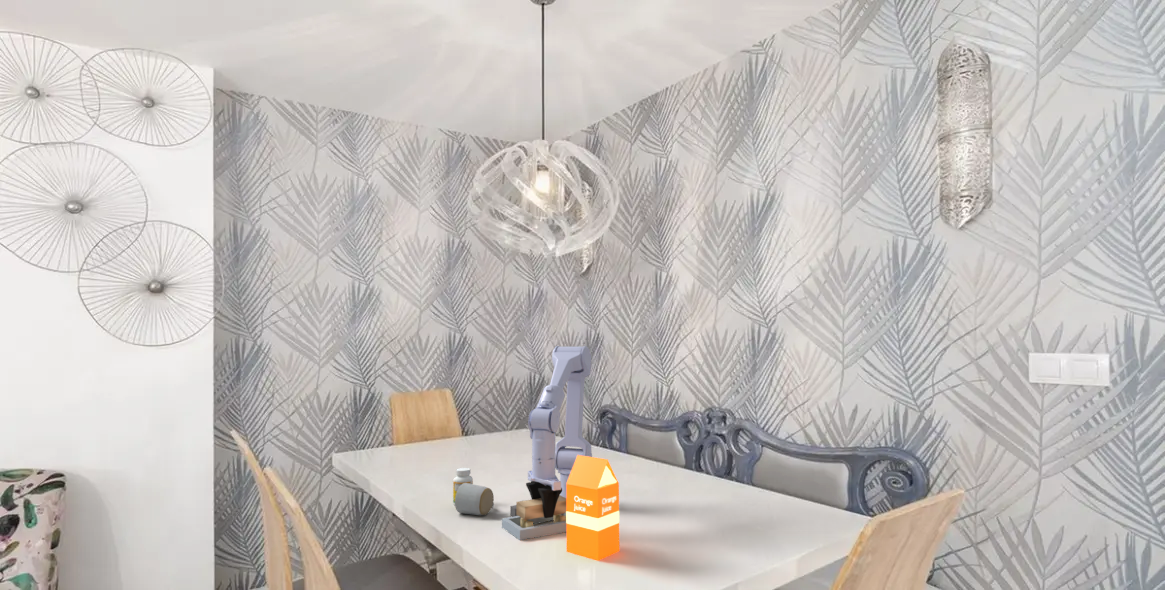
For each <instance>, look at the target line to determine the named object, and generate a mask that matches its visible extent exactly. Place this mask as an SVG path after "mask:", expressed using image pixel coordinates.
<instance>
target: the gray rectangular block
mask: <svg viewBox="0 0 1165 590" xmlns="http://www.w3.org/2000/svg"><path fill="white" fill-rule="evenodd" d="M509 512H510V513H509V514H510V515H511V516H512V517H514V516H518V515H516V505H510V511H509ZM511 516H510V517H511Z"/></svg>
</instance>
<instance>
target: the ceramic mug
mask: <svg viewBox="0 0 1165 590" xmlns="http://www.w3.org/2000/svg"><path fill="white" fill-rule="evenodd" d="M494 499H495V498H494V493H493V490H492V489H491V488H489V487H487V486H483V485H477V484H474V483H473V484H469V483H463V484H462V485H461V486H460V487H459V488H458V490H457V493H456V497H455V505H454V506H455V510H456V511H457V513H458V514H463V515H464V514H465V515H474V516H486V515H488V513H490V511H491V510H492V509H493V508H494V505H495V504H494V503H495V502H494Z"/></svg>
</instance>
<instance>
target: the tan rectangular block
mask: <svg viewBox="0 0 1165 590" xmlns="http://www.w3.org/2000/svg"><path fill="white" fill-rule="evenodd" d="M563 513H566V498H565V497H563V496H559V498H558V500H557V503H556V507H555V511H554V515H557V514H563ZM516 515H518V516H520V517H521V518H523V519H524V520H527V519H533V518H539V517H544V513H543V504H542V499H541V498H539V499H533V500H532V499H527V500H522V501H516Z"/></svg>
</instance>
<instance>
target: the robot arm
mask: <svg viewBox="0 0 1165 590" xmlns="http://www.w3.org/2000/svg"><path fill="white" fill-rule="evenodd" d="M590 350H591V349H590V348H589V347H588V346H587V345H584V346H581V345H580V346H578V345H577V346H570V345H569V346H567V345H566V346H560V345H556V346H555V347H554V348H553V350H552V354H551V355H552V356H551V360H552V365H553V372H552V376H551V380H550V383H549V384H548V385H546V386H545V387H543V391H542V392H541V395H540V398H539V401H538V403H537V405H536V407H535V408H534V409H532V410H530V412H529V415H528V421H527V424H528V425H527V426H528V430H529V436H530V439H531V441H532V442H531V443H532V444H531V445H532V446H531V451H532V452H531V456H532V457H531V458H532V459H531V470H528V471H527V480H528V481H529V482H526V483H525V486H526V488H527V490H528V492H529V495H530V498H531V500H533V499H539V498H541V499H542V504H543V513H544V518H551V517H553V515H554V511H555V507H556V503H557V500H558V498H559V496H563V497H565V498H566V483H567V480H568V478H569V475H570V473H571V470H572V468H573V465H574V463H575V460H576V458H577V455H581V456H588V457H593V453H592V444H591V443H590V441H588V440H586V438H585V437H583V423H584V422H583V420H584V417H583V416H584V397H585V381H586V378H587V377H589V376H590V375H591V367H592V366H591V365H592V354H591V351H590ZM566 383H567V384H566ZM565 385H567V386H566V394H565V391H564V388H565ZM565 396H566V401H565V402H566V407H565V408H566V409H565V421H564V422H565V425H564V426H565V427H564V428H565V429H564V436H563V437H562V438H561V439H560V440H558V441H557V442H556V432H557V431H558V429H559V426H560V419H561V411H560V410H561V408H562V404H563V402H564V399H565ZM570 447H571V448H570ZM573 447H575V448H573ZM556 470H557V473H558V474H559V475H560V476H559V478H558V477H557V475H556Z"/></svg>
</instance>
